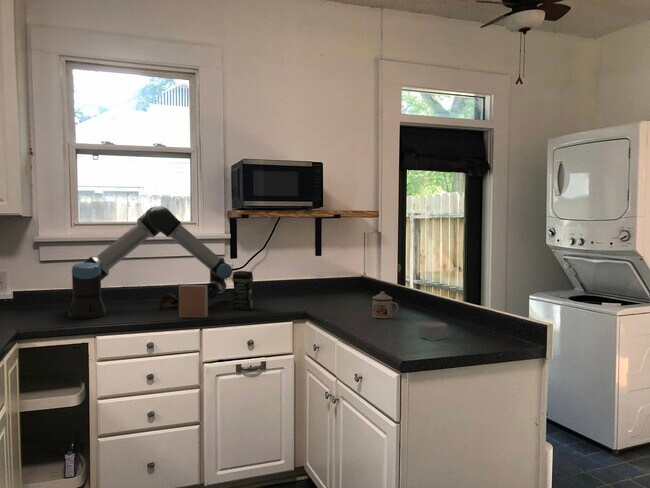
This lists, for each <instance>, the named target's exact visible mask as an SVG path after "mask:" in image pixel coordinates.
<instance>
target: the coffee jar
mask: <svg viewBox="0 0 650 488" xmlns="http://www.w3.org/2000/svg"><path fill="white" fill-rule="evenodd" d="M231 280H232V283H233V297H232V309H233V310H237V311H239V310H240V311H247V310H249V309H250V310H252V309H253V307H254V302H253V300H254V299H253V287H252V286H253V281H254V276H253V272H252V271H248V270H236V271H233V272H232V279H231Z"/></svg>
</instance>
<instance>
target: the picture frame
mask: <svg viewBox="0 0 650 488" xmlns="http://www.w3.org/2000/svg"><path fill="white" fill-rule="evenodd" d="M208 299H209V298H208V292H207V285H206V284H201V285H200V284H181V285H180V284H179V285H178V302H179V308H178V310H179V313H178V314H179V318H207V317H208V315H209V312H208V309H209V308H208V307H209V304H208Z"/></svg>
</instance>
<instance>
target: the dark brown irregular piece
mask: <svg viewBox="0 0 650 488" xmlns="http://www.w3.org/2000/svg"><path fill="white" fill-rule="evenodd" d="M167 301H168V302H170V303H171V305H172V306H175V305H176V307H177V309H179V298H178V296H177V294H175V293H173V294H172V293H170V292H169V293H167V294H164V295H163V296H161V297H160V298H159V299H158V300H157V303H158V306H159V308H163V305H167Z"/></svg>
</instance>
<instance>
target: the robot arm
mask: <svg viewBox="0 0 650 488" xmlns="http://www.w3.org/2000/svg"><path fill="white" fill-rule="evenodd" d="M159 233H162V234H163V235H165V237H167V238H171V239H172V240H173V241H175V242H176V243H177V244H178V245H180V246H181V247H182V248H183V249H184V250H186V252H188V253H189V254H190V255H192V256H193V257H194V258H195V259H196V260H198V261H199V262H200V263H202V264H203V266H205V267H206V268H207V269H209V283H207V284H205V285H207V292H208V299H213V298H215V297H217V296H221V295H222V293H224V292H225V291H226V289H227V282H226V279H229V278H230V277H231V275H233V268H232V266H231V265H230V264H229V263H226V262H225V258H224V257H223V256H218V255H217V254H216V253H215V252H214V251H212V250H211V249H210V248H209V247H208V246H206V245H205V244H204V242H202V241H201V240H200V239H198V238H197V237H196V236H195V235H194V234H192V232H190V231H189V230H188V229H186V227H184V226H183V225H182V221H180V219H178V218H177V217H176V215H174V214H173V213H172V212H171V211H170V209H168V208H166V207H164V206H152V207H150V208H149V209H147V210H146V212H144V213H143V214H142V215H141V216H140V217H138V218H137V220H136V224H135V225H134V226H132V227H131V228H130V229H129V230H127V231H126V232H125V233H124V234H122V235H121V236H120V237H119V238H118V239H117V240H115V241H113V243H111V244H110V245H108V247H107V248H105V249H104V250H103V251H101V252H100V253H99V254H98V255H97V256H93V255H92V256H90V257H89V258H87V259H86V260H85V261H84V262H80V263H75V264H74V265H72V267H71V281H72V282H71V283H72V301H71V303H70V308H69V310H68V318H71V319H78V320H79V319H81V320H82V319H83V320H84V319H93V318H100V317H103V316H106V314H107V313H106V312H107V311H106V310H107V309H106V307H105V304H104V302H103V299H102V281H103V280H104V279H105V278H106V277H108V276H109V274H110V270H111V269H112V268H114V267H115V266H116V265H117V264H118V263H119V262H121V261H122V260H123V259H124V258H126V256H128V255H129V254H130V253H131V252H133V251H134V250H135V249H136V248H138V247H139V246H140V245H142V243H144V242H145V241H146V240H147V239H149V238H155V237H156V236H157V235H158V234H159Z"/></svg>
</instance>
